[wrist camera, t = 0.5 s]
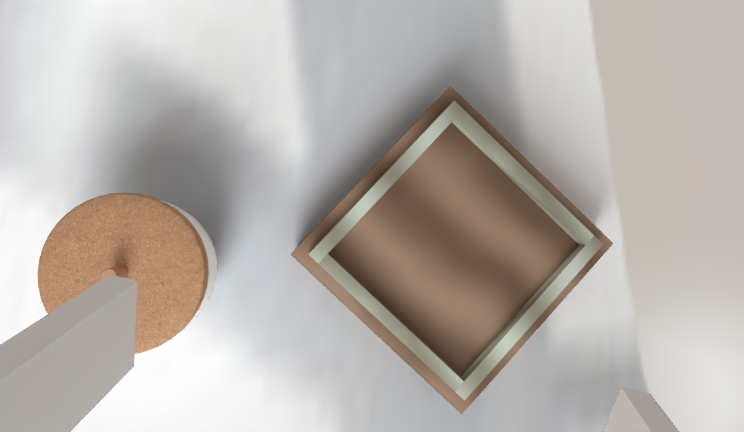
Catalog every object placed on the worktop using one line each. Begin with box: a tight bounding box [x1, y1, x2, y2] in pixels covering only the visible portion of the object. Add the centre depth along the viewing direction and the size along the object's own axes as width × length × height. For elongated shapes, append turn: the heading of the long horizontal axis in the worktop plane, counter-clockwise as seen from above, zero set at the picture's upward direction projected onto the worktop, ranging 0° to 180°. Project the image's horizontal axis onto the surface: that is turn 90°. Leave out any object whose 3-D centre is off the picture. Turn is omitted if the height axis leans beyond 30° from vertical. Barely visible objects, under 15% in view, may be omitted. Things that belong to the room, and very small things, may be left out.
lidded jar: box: [38, 193, 217, 354], centre depth 32 cm, size 11×11×9 cm
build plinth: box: [291, 86, 613, 414], centre depth 36 cm, size 18×18×5 cm
